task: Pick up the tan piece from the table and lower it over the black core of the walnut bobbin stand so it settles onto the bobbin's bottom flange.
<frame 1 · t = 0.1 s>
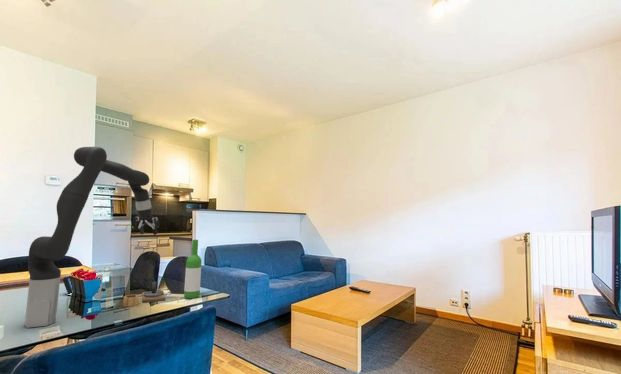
hand: (149, 234, 178), 31 cm above the table, tool tilted 20°, fingers open, 8 cm apart
wine bottle: (191, 297, 163), on the table
tan piece: (130, 304, 146), on the table
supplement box: (88, 301, 151), on the table
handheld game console: (84, 293, 165), on the table
bobbin stand: (153, 297, 159), on the table
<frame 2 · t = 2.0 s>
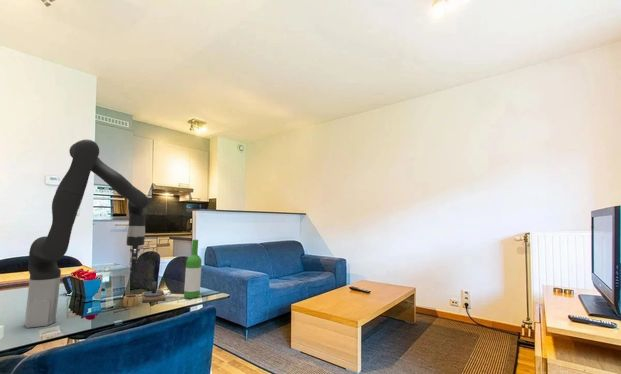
hand: (133, 269, 148), 17 cm above the table, tool pointing down, fingers open, 8 cm apart
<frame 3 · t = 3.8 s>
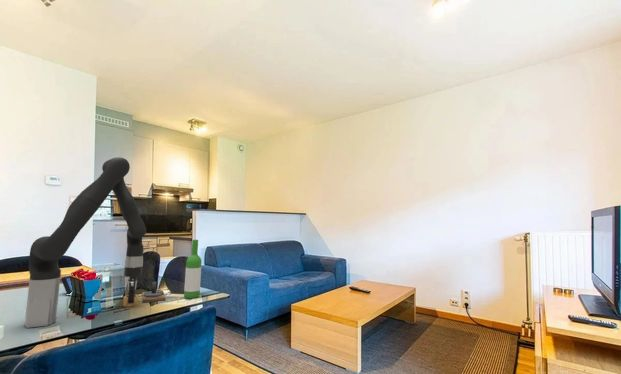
hand: (130, 301, 146), 2 cm above the table, tool pointing down, fingers closed on tan piece, 6 cm apart
tan piece: (130, 304, 146), on the table, touching gripper
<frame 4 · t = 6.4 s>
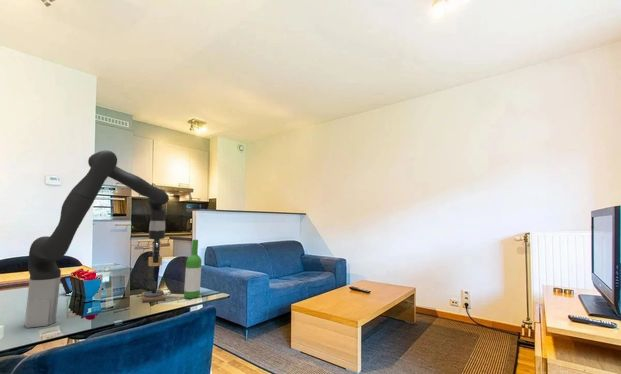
hand: (155, 261, 160), 18 cm above the table, tool pointing down, fingers closed on tan piece, 6 cm apart
tan piece: (155, 265, 160), point 17 cm above the table, touching gripper
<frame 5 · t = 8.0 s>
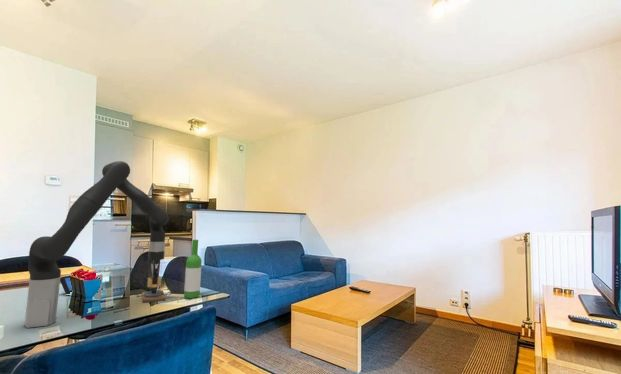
hand: (154, 282, 160), 8 cm above the table, tool pointing down, fingers closed on tan piece, 6 cm apart
tan piece: (154, 286, 160), point 6 cm above the table, touching gripper
when the fingers open (5 cm above the table, at t = 9.1 s): tan piece stays where it is, resting on bobbin stand.
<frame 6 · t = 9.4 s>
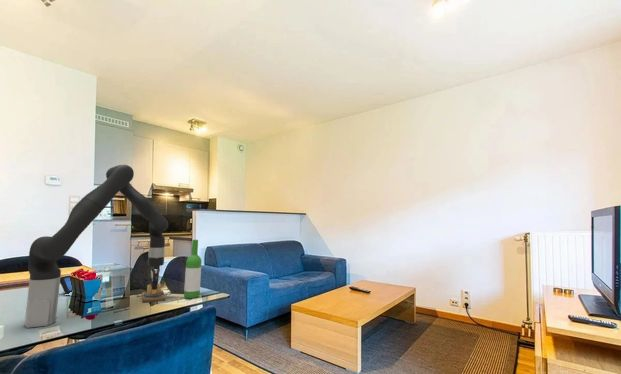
hand: (154, 287, 160), 5 cm above the table, tool pointing down, fingers open, 8 cm apart
tan piece: (153, 292, 159), point 2 cm above the table, touching bobbin stand
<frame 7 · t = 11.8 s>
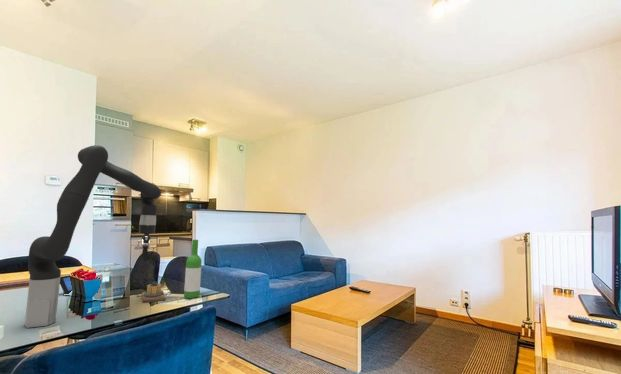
hand: (144, 256, 157), 22 cm above the table, tool pointing down, fingers open, 8 cm apart
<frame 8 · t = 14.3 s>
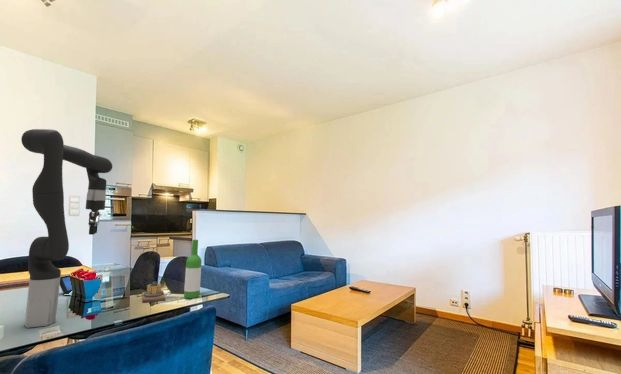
hand: (92, 233, 146), 33 cm above the table, tool pointing down, fingers open, 8 cm apart
at the end: tan piece 0.0 cm off-centre on the bobbin stand, point 2.5 cm above the bobbin stand's base; tan piece tilted 0°; the gripper is holding nothing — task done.
